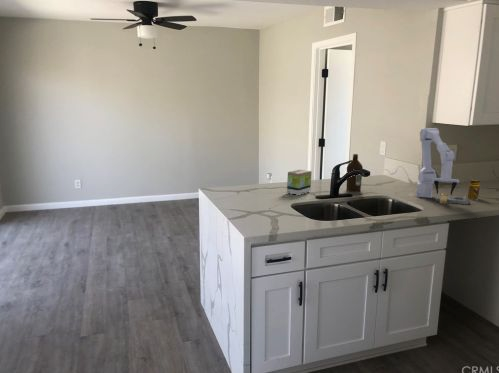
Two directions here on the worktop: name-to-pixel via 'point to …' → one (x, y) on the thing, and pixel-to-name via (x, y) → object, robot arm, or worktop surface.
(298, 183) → the tea box
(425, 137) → the robot arm
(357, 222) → the worktop surface
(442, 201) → the bushing
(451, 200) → the jig
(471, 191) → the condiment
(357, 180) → the olive oil
